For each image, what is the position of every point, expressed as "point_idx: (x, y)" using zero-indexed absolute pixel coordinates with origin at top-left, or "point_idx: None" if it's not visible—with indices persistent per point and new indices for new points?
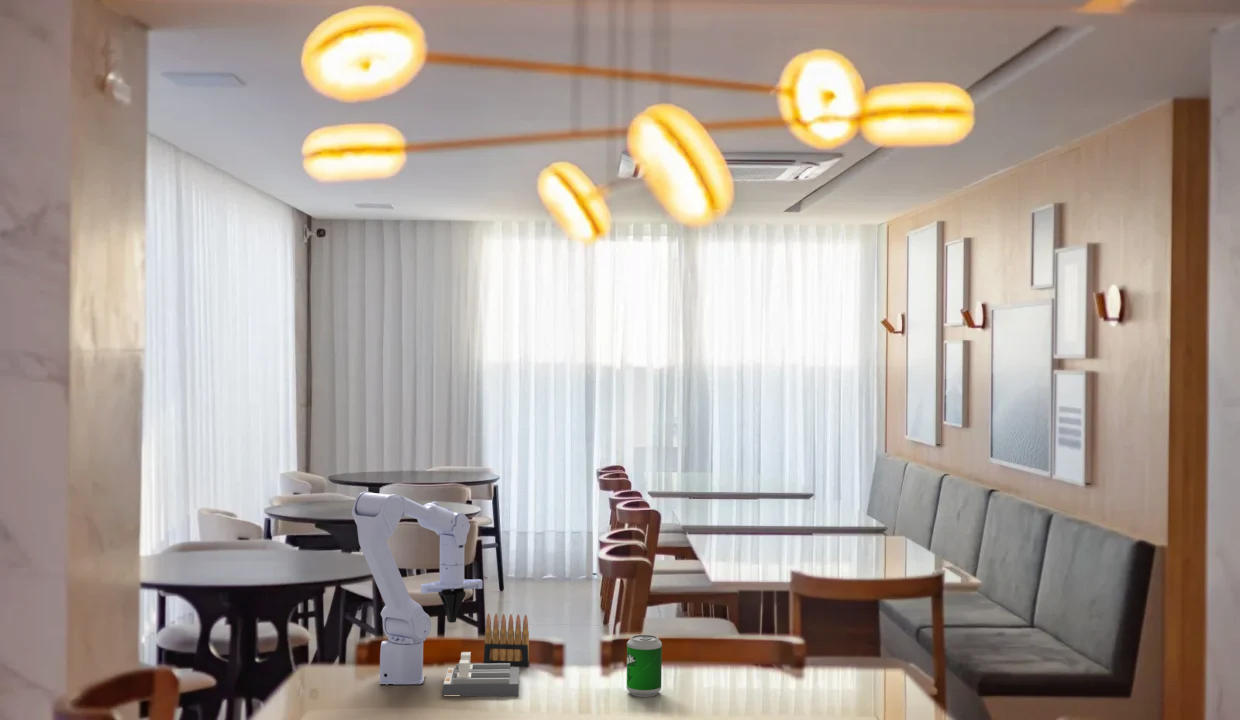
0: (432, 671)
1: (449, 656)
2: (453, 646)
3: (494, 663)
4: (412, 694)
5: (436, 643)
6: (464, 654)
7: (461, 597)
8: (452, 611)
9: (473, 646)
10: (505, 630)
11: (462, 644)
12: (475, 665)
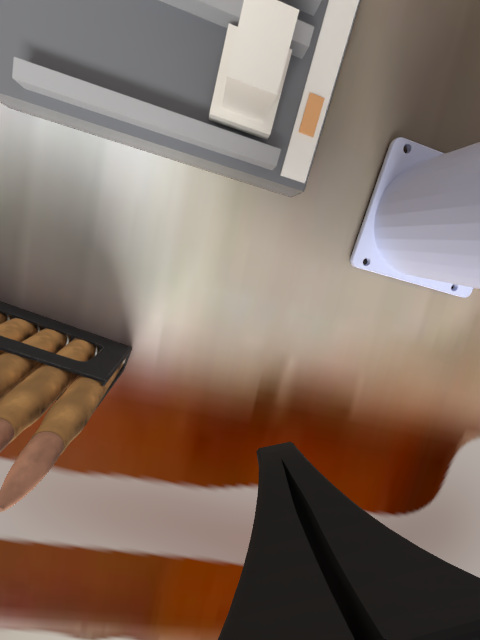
0: (312, 312)
1: (222, 471)
2: (189, 567)
3: (89, 336)
4: (459, 14)
5: (230, 598)
6: (275, 21)
7: (263, 628)
8: (307, 490)
9: (130, 562)
10: None
11: (160, 584)
12: (195, 120)
